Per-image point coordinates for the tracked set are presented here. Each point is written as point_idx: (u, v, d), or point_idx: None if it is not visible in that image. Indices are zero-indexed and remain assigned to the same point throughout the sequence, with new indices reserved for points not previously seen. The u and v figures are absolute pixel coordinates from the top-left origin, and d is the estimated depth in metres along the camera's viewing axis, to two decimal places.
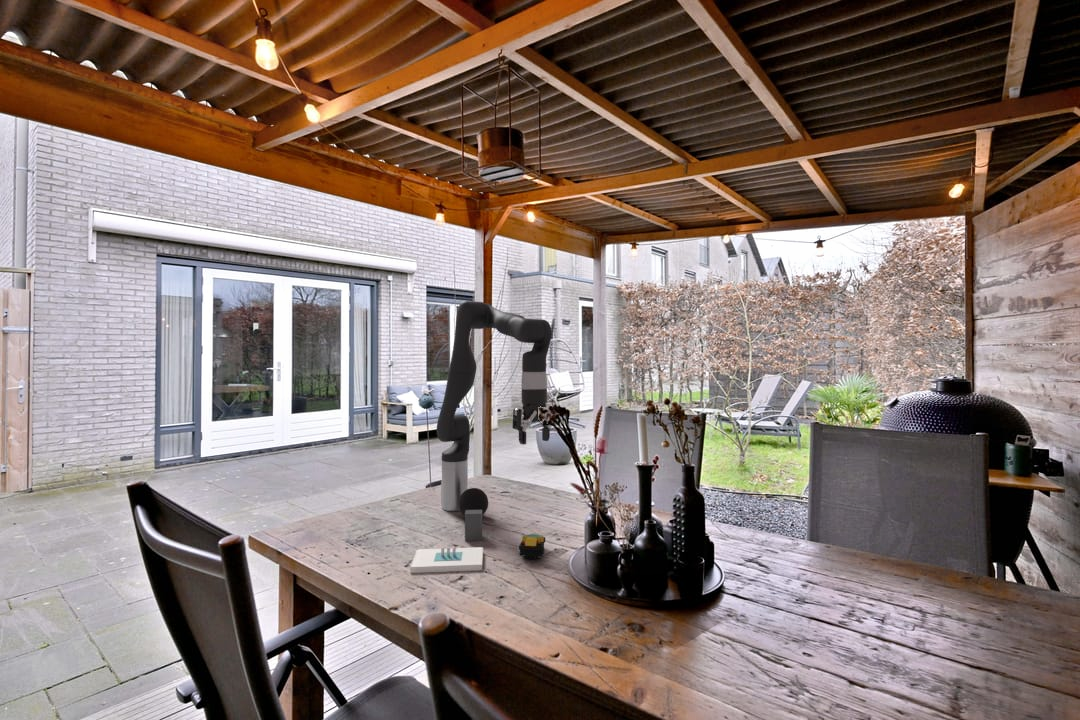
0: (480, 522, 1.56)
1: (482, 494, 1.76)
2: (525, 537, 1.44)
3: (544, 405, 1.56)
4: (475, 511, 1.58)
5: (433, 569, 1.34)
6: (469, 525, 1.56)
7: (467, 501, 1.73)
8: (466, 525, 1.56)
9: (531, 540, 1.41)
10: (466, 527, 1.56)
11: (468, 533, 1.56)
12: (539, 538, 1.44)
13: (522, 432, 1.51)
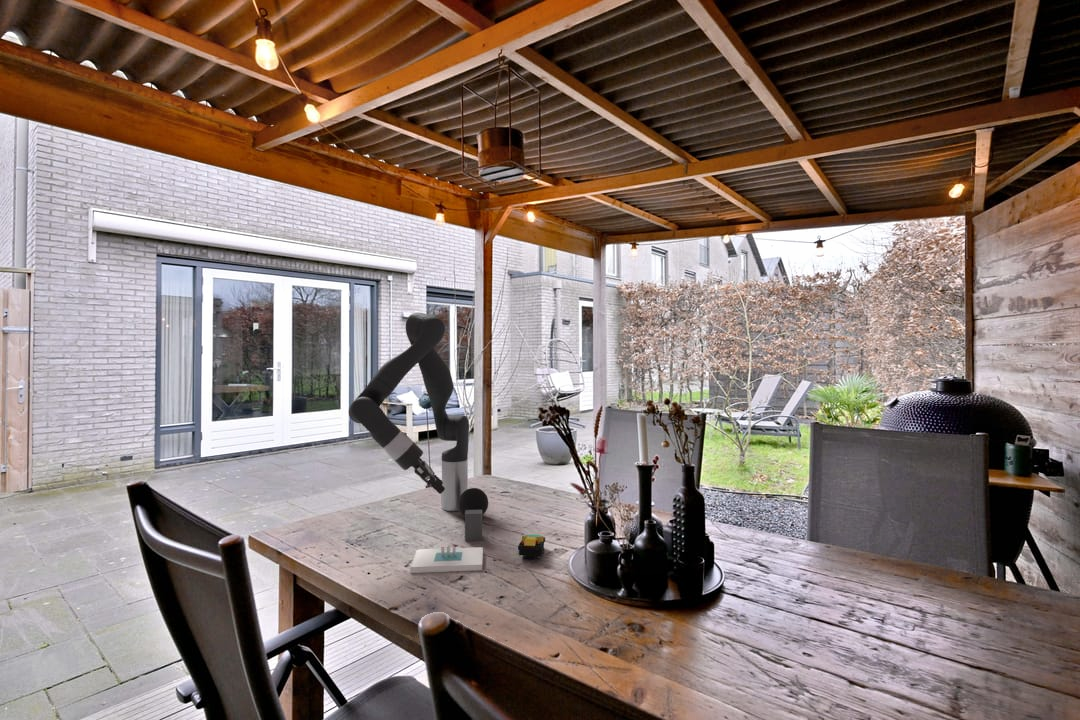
0: (480, 522, 1.56)
1: (482, 494, 1.76)
2: (524, 537, 1.44)
3: (413, 467, 1.52)
4: (475, 511, 1.58)
5: (433, 569, 1.34)
6: (469, 525, 1.56)
7: (467, 500, 1.73)
8: (466, 525, 1.56)
9: (530, 540, 1.41)
10: (466, 527, 1.56)
11: (468, 533, 1.56)
12: (538, 538, 1.44)
13: None
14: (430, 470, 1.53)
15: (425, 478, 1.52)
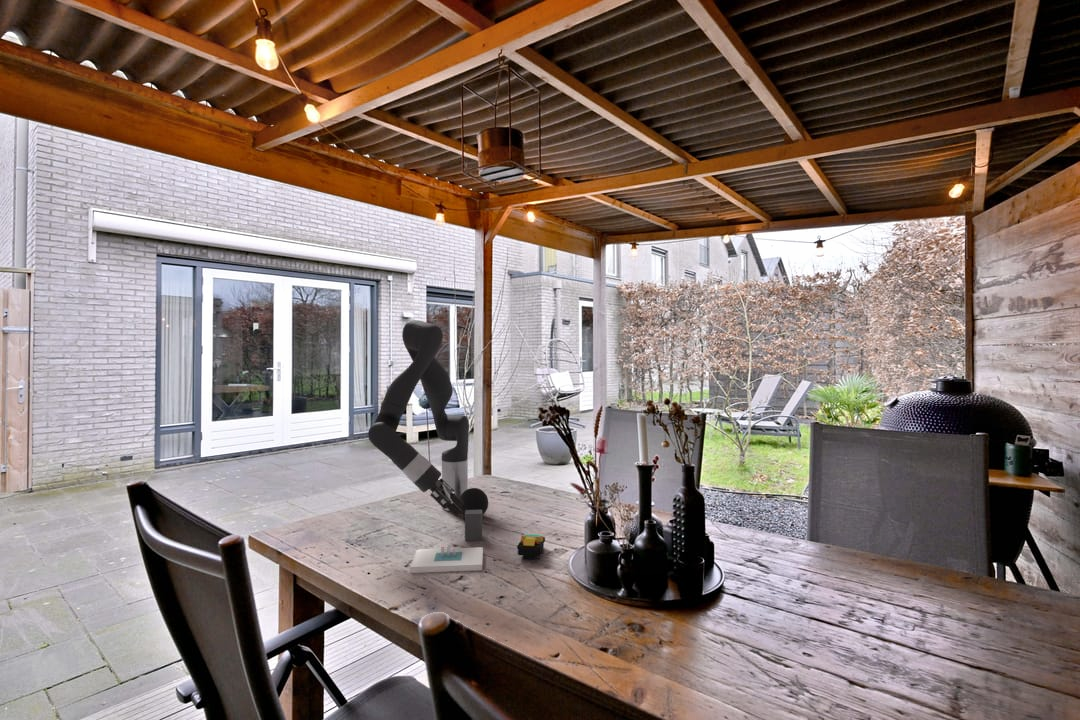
0: (480, 522, 1.56)
1: (482, 494, 1.76)
2: (524, 537, 1.44)
3: (431, 490, 1.54)
4: (475, 511, 1.58)
5: (433, 569, 1.34)
6: (469, 525, 1.56)
7: (467, 501, 1.73)
8: (466, 525, 1.56)
9: (529, 540, 1.41)
10: (466, 527, 1.56)
11: (468, 533, 1.56)
12: (538, 538, 1.44)
13: None
14: (447, 493, 1.54)
15: (442, 501, 1.53)
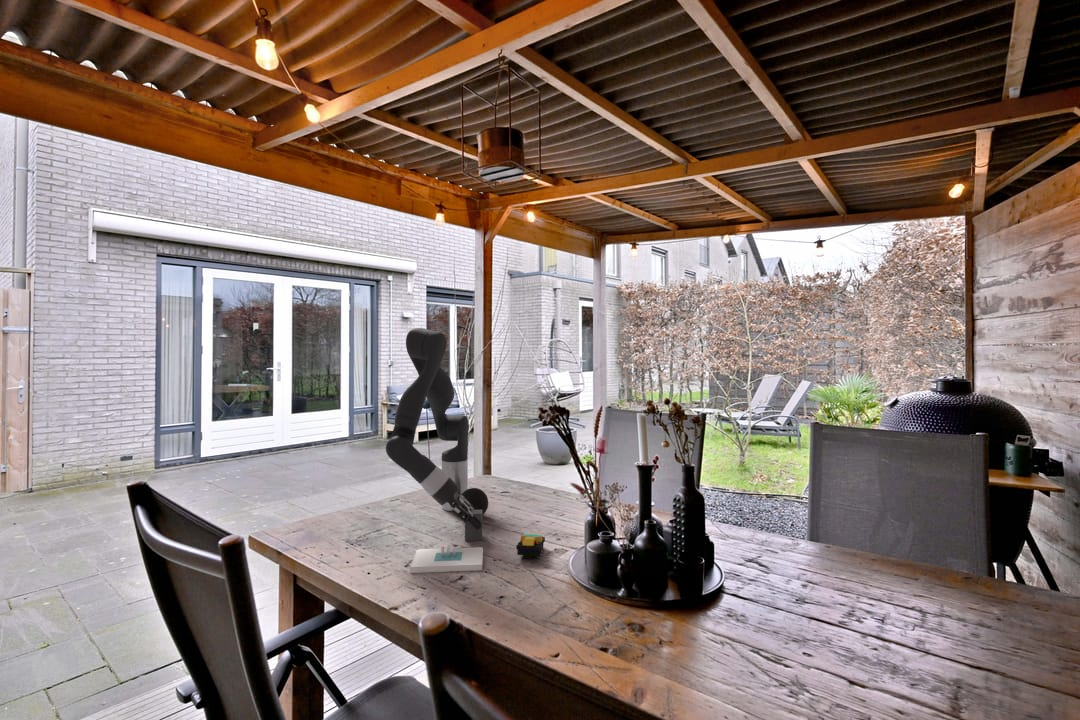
0: None
1: (482, 494, 1.76)
2: (523, 537, 1.44)
3: (449, 503, 1.54)
4: (475, 511, 1.58)
5: (433, 569, 1.34)
6: (469, 525, 1.56)
7: None
8: (466, 525, 1.56)
9: (529, 540, 1.41)
10: (466, 527, 1.56)
11: (468, 533, 1.56)
12: (537, 538, 1.44)
13: None
14: (467, 507, 1.55)
15: (462, 515, 1.55)
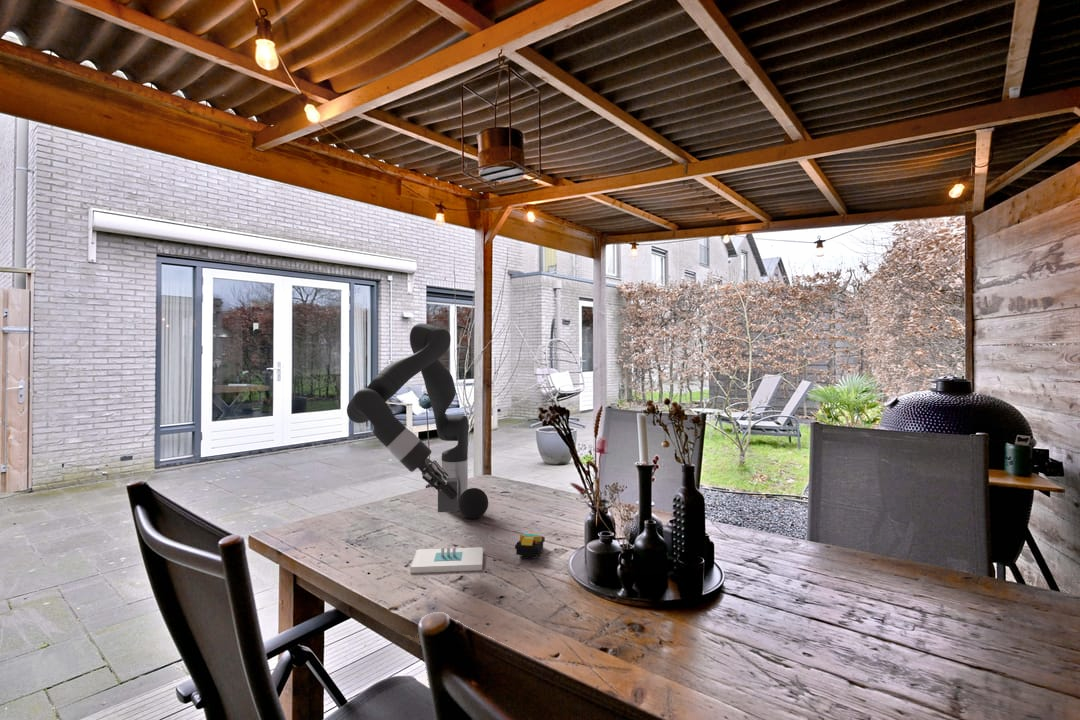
0: None
1: (482, 494, 1.76)
2: (523, 536, 1.44)
3: (419, 469, 1.36)
4: (450, 479, 1.40)
5: (433, 569, 1.34)
6: (442, 494, 1.38)
7: (467, 501, 1.73)
8: (439, 494, 1.38)
9: (527, 540, 1.41)
10: (439, 496, 1.38)
11: (441, 503, 1.38)
12: (536, 538, 1.44)
13: None
14: (440, 473, 1.37)
15: (435, 482, 1.37)
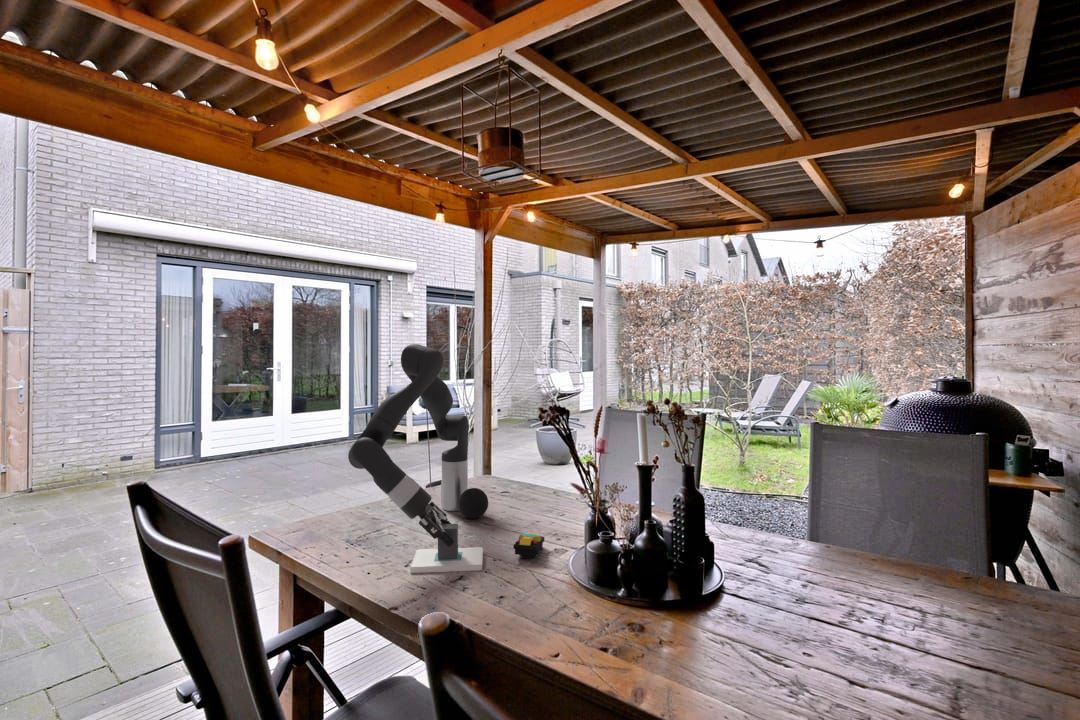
0: (455, 538, 1.38)
1: (482, 494, 1.76)
2: (521, 536, 1.45)
3: None
4: (450, 525, 1.40)
5: (433, 569, 1.34)
6: (442, 542, 1.38)
7: (467, 501, 1.73)
8: (439, 541, 1.38)
9: (526, 539, 1.41)
10: (439, 544, 1.38)
11: (441, 551, 1.38)
12: (535, 538, 1.44)
13: None
14: (438, 520, 1.36)
15: (432, 529, 1.36)
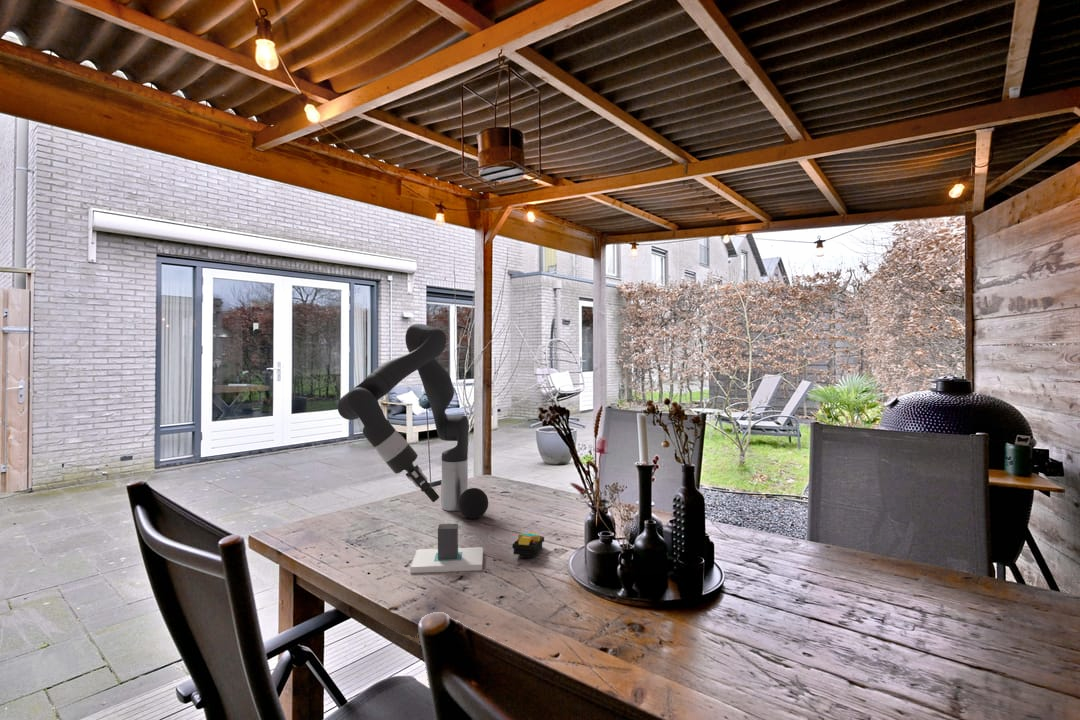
0: (455, 538, 1.38)
1: (482, 494, 1.76)
2: (521, 536, 1.45)
3: None
4: (450, 525, 1.40)
5: (433, 569, 1.34)
6: (442, 542, 1.38)
7: (467, 501, 1.73)
8: (439, 541, 1.38)
9: (525, 539, 1.41)
10: (439, 544, 1.38)
11: (441, 551, 1.38)
12: (534, 538, 1.44)
13: (421, 485, 1.47)
14: None
15: (419, 484, 1.38)
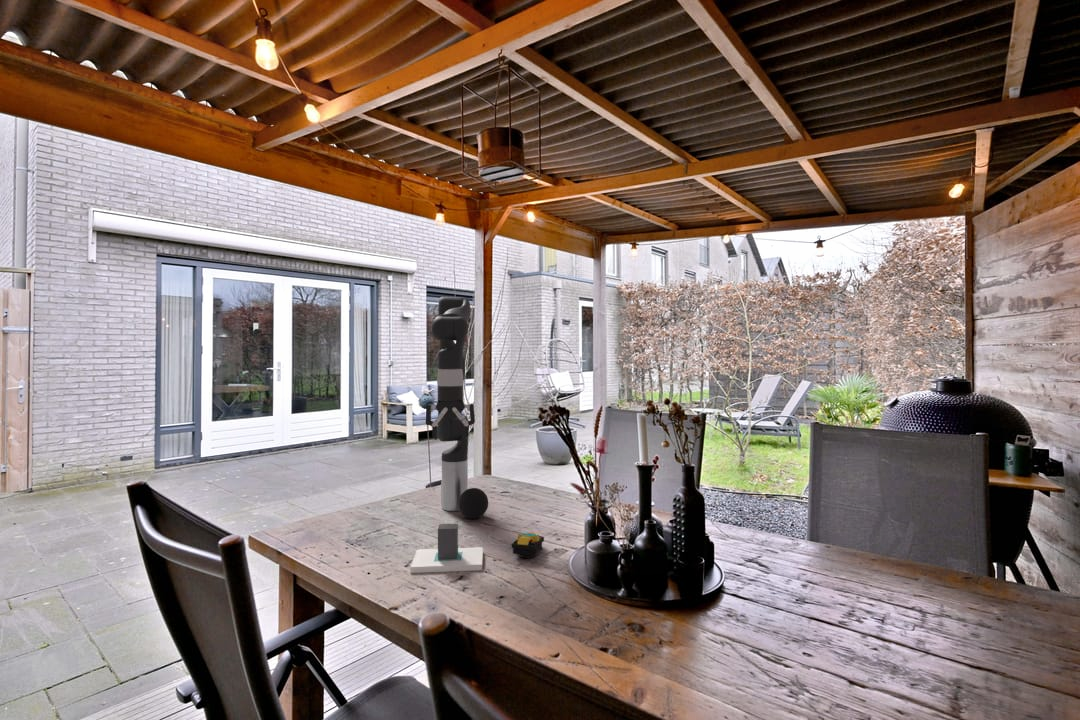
0: (455, 538, 1.38)
1: (482, 494, 1.76)
2: (520, 536, 1.45)
3: (460, 403, 1.55)
4: (450, 525, 1.40)
5: (433, 569, 1.34)
6: (442, 542, 1.38)
7: (467, 501, 1.73)
8: (439, 541, 1.38)
9: (524, 539, 1.41)
10: (439, 544, 1.38)
11: (441, 551, 1.38)
12: (533, 537, 1.44)
13: (433, 427, 1.55)
14: (463, 415, 1.58)
15: (464, 418, 1.56)
